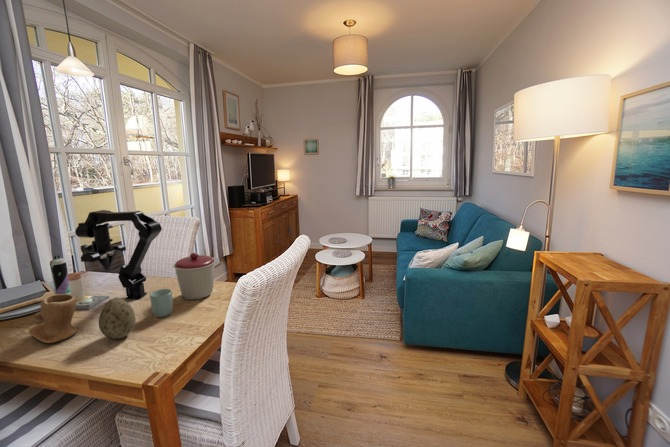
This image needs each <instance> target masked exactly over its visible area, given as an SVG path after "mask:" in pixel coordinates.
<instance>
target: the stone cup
mask: <svg viewBox="0 0 670 447" xmlns="http://www.w3.org/2000/svg"><path fill="white" fill-rule="evenodd" d="M75 309H76V298H75V296H73V295H70V294H56V293H54V294H51V295H48V296H46V297H44V298H43V299H41V302H40V311H41V316H42V318H43V320H44V322H41V323H40V324H37V325H35V326H34V327H32V328H30V329H29V330H28V334H30V336H32V337H33V338H35V339H37V340H38V341H41V342H42V343H45V344H51V343H52V344H54V343H57V342H60V341H63V340H66V339H67V338H70V337H72V336H74V335H75V334H76V333H77V329H76V328H75V326H73V325H72V320H73V317H74V314H75V311H76V310H75Z"/></svg>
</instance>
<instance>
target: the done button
mask: <svg viewBox="0 0 670 447" xmlns="http://www.w3.org/2000/svg"><path fill="white" fill-rule="evenodd" d="M91 302H93V300H92V299H91V298H89V299H84V300H82V301H81V304H89V303H91Z"/></svg>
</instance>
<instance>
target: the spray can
mask: <svg viewBox="0 0 670 447" xmlns="http://www.w3.org/2000/svg"><path fill="white" fill-rule="evenodd" d="M49 266H50V267H49V268H50V271H51V276H52V283H53V286H54V288H53V289H54V292H55V293H54V294H66V293H68V292H70V286H69V281H68V277H67V275H68V274H69V272H68V265H67V261H66V259H65V258H62V257H61V256H60V255H59V254H58V255H54V256H53V258H52V260H50V261H49Z"/></svg>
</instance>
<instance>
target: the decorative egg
mask: <svg viewBox="0 0 670 447" xmlns="http://www.w3.org/2000/svg"><path fill="white" fill-rule="evenodd" d="M136 319H137V318H136V313H135V310H134V308H133V307H132V306H131V304H130V303H129V302H127V300H126V299H125V300H124V299H123V298H120V297H113V298H110V299H109V300H108V301H107V302H106V303H105V304H104V306H103V307H102V308H101V310H100V312H99V316H98V328H99V331H100V332H101V334H102V335H104V337H106V338H108V339H111V340H112V339H113V340H119V339H122V338H124V337H126V336H127V335H129V334H130V333H131V332H132V330H133V329H134V327H135V325H136Z"/></svg>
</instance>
